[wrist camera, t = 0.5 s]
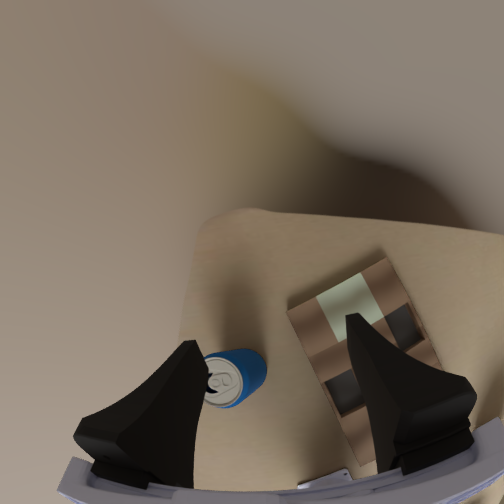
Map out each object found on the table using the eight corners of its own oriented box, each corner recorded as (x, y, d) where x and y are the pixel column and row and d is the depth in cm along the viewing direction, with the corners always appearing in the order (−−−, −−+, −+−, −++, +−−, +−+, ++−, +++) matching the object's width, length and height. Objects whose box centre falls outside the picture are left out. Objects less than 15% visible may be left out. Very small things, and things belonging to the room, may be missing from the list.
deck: (451, 407, 29) (456, 409, 27) (358, 461, 30) (360, 466, 28) (383, 260, 38) (386, 256, 36) (287, 312, 39) (285, 311, 37)
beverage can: (219, 354, 40) (182, 359, 29) (260, 343, 39) (237, 346, 28) (230, 394, 38) (197, 414, 26) (272, 385, 37) (253, 405, 26)
